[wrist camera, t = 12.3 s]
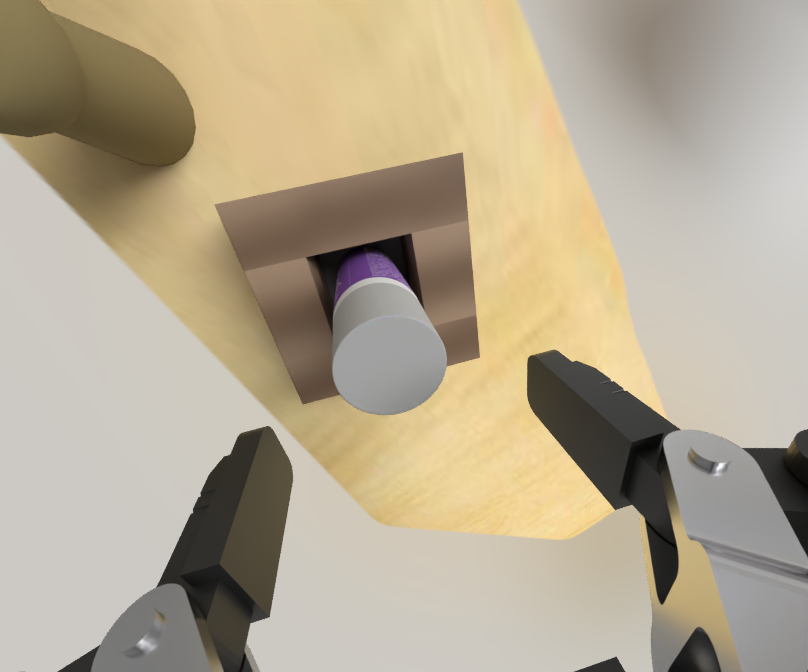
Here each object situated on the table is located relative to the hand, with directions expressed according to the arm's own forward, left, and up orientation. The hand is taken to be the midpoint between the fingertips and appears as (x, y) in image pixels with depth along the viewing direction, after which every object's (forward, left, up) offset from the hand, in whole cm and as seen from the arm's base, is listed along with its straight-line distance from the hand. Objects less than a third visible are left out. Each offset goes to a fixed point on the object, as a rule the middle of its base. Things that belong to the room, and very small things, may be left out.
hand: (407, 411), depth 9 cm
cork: (-13, -11, -18) cm, 25 cm away
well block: (0, 0, -18) cm, 18 cm away
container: (0, 0, -18) cm, 18 cm away
